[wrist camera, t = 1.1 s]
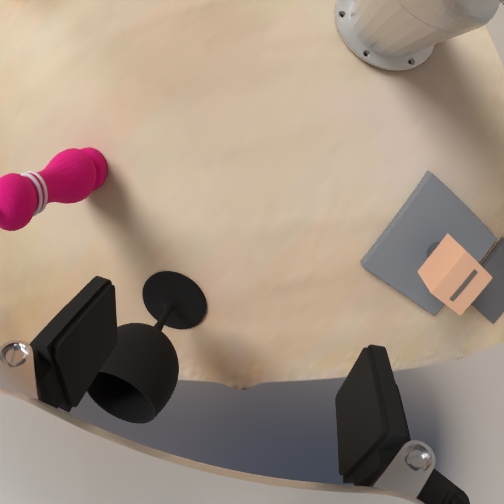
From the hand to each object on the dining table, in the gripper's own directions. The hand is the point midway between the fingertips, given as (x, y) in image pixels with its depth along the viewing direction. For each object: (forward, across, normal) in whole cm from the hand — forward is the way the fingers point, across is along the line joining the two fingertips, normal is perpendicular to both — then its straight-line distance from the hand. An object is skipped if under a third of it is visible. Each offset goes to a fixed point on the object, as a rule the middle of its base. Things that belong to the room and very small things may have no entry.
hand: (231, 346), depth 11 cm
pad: (+30, -38, +5) cm, 48 cm away
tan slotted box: (+24, -23, +4) cm, 34 cm away
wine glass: (+30, +11, +22) cm, 38 cm away
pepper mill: (+30, +26, +4) cm, 40 cm away
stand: (+30, -23, +4) cm, 38 cm away
